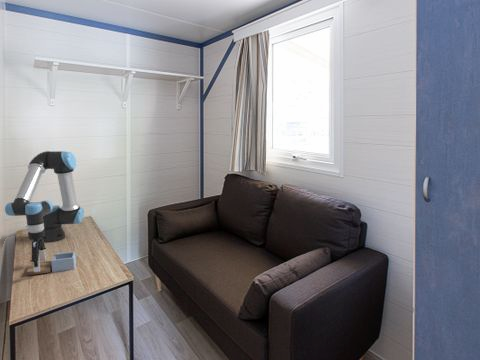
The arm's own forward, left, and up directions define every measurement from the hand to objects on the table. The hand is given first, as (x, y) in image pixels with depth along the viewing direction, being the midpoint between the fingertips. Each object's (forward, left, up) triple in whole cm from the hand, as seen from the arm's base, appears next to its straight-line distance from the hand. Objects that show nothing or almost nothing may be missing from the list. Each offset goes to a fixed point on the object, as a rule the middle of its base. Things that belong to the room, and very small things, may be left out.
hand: (40, 266), depth 168 cm
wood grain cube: (0, 0, -3) cm, 3 cm away
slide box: (0, +12, -3) cm, 12 cm away
